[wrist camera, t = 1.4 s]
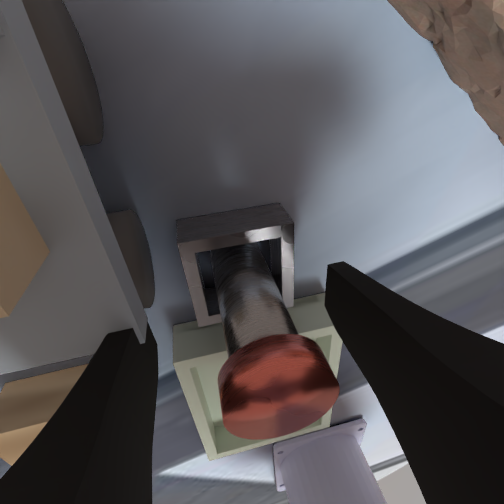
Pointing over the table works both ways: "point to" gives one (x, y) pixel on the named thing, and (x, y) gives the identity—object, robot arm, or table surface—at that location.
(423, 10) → the brick
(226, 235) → the socket
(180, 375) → the tray
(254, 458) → the table surface
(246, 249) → the pin
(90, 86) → the trolley
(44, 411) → the block
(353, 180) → the table surface
